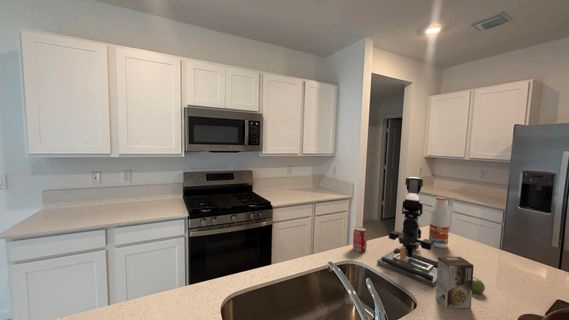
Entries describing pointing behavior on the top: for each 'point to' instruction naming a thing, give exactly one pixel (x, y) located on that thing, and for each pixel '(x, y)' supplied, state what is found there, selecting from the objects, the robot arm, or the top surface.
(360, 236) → the soda can
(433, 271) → the panel
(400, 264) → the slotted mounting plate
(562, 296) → the top surface
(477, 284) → the pear
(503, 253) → the top surface
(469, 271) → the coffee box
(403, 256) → the breaker lever
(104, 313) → the top surface
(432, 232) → the fruit juice
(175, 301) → the top surface
